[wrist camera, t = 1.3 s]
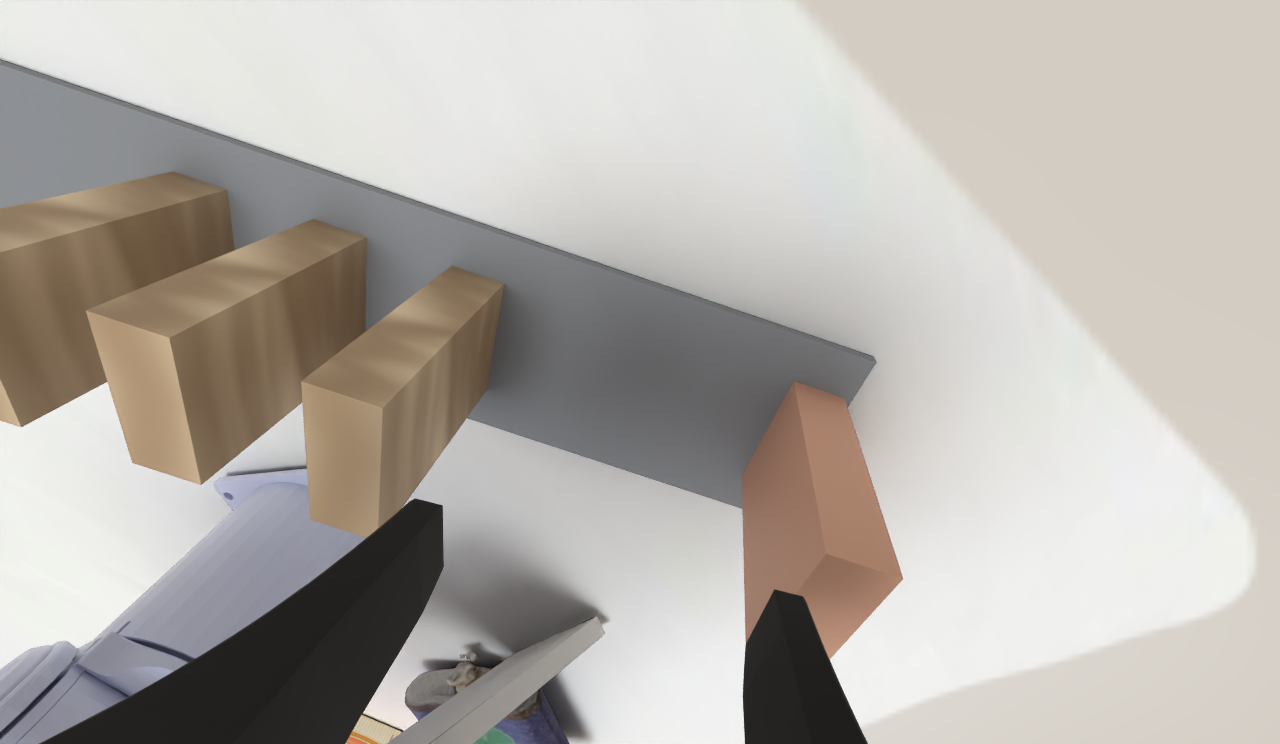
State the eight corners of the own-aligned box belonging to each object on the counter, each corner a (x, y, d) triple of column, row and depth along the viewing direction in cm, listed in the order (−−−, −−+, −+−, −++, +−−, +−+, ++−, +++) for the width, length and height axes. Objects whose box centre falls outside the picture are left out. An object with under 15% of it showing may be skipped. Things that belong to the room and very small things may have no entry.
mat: (873, 356, 19) (876, 362, 19) (775, 513, 24) (775, 519, 23) (-46, 44, 18) (-61, 43, 18) (33, 268, 23) (22, 271, 22)
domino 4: (844, 397, 20) (903, 578, 13) (786, 490, 22) (810, 680, 16) (793, 380, 20) (826, 553, 13) (741, 475, 22) (746, 659, 16)
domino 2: (366, 236, 19) (169, 338, 13) (365, 350, 22) (201, 484, 15) (313, 218, 19) (85, 310, 12) (318, 335, 22) (132, 463, 15)
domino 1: (227, 189, 19) (-50, 266, 12) (242, 309, 22) (21, 427, 15) (172, 171, 19) (-136, 237, 12) (195, 294, 22) (-49, 404, 15)
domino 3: (504, 283, 19) (382, 407, 13) (486, 390, 22) (377, 541, 15) (451, 265, 19) (300, 381, 13) (439, 375, 22) (310, 519, 15)
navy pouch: (448, 784, 36) (382, 686, 31) (469, 738, 39) (410, 640, 34) (575, 801, 34) (523, 697, 29) (588, 751, 36) (542, 647, 31)
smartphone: (519, 670, 33) (231, 887, 20) (510, 651, 33) (221, 852, 20) (610, 631, 29) (330, 865, 16) (600, 609, 29) (316, 823, 16)
